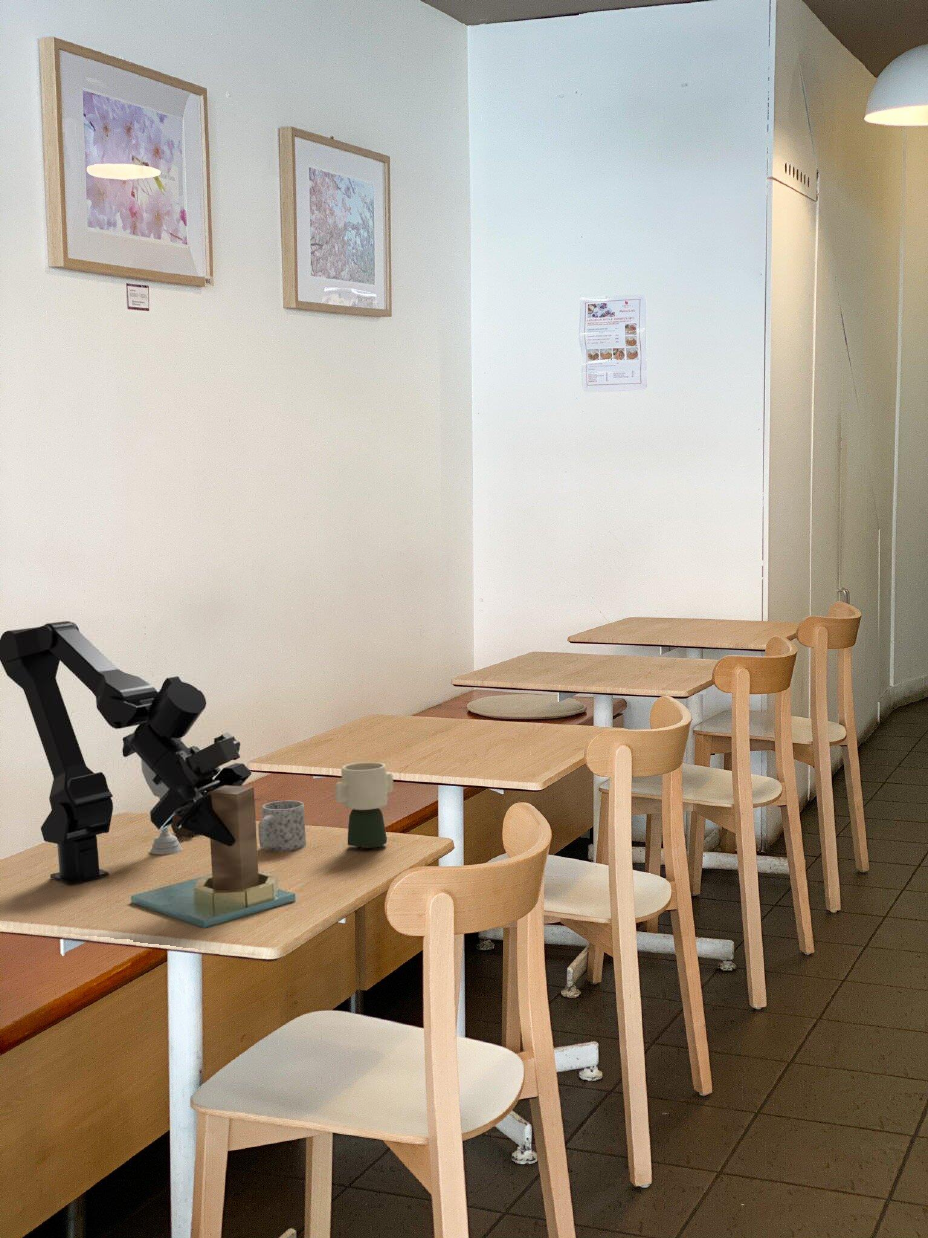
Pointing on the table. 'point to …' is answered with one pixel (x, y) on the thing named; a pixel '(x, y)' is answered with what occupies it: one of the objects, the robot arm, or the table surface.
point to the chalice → (165, 841)
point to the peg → (239, 860)
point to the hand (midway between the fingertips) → (242, 839)
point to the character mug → (365, 801)
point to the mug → (282, 826)
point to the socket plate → (213, 900)
